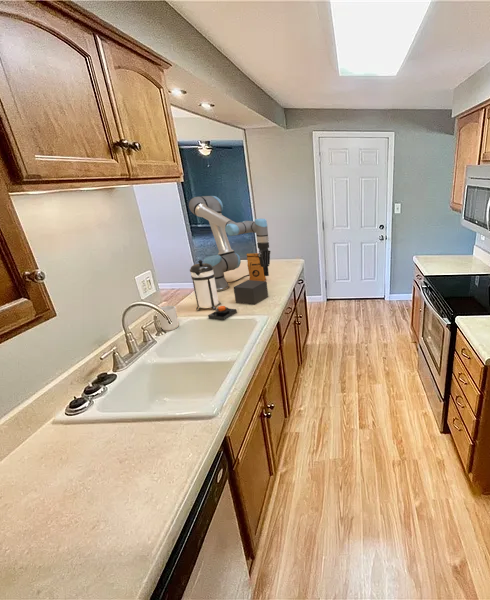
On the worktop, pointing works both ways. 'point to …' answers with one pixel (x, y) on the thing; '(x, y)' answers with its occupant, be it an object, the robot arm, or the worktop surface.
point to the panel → (222, 314)
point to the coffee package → (255, 268)
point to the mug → (173, 316)
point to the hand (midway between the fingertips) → (266, 275)
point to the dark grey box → (250, 292)
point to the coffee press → (204, 285)
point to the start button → (221, 308)
